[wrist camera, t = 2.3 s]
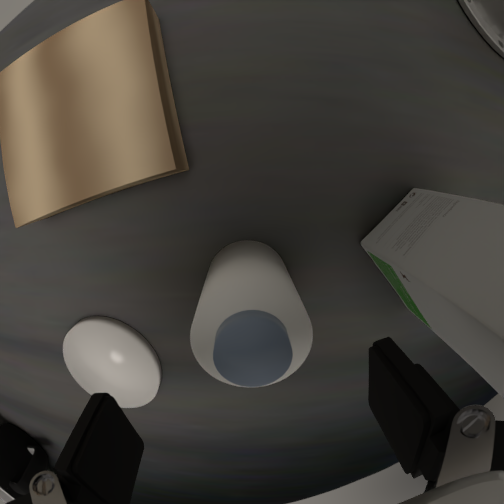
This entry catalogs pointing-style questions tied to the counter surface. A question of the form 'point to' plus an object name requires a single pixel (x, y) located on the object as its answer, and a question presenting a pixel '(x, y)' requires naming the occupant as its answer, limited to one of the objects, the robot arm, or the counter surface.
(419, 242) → the skincare box
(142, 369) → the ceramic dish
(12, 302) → the counter surface
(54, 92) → the oak slab
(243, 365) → the reagent bottle
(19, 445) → the mug
